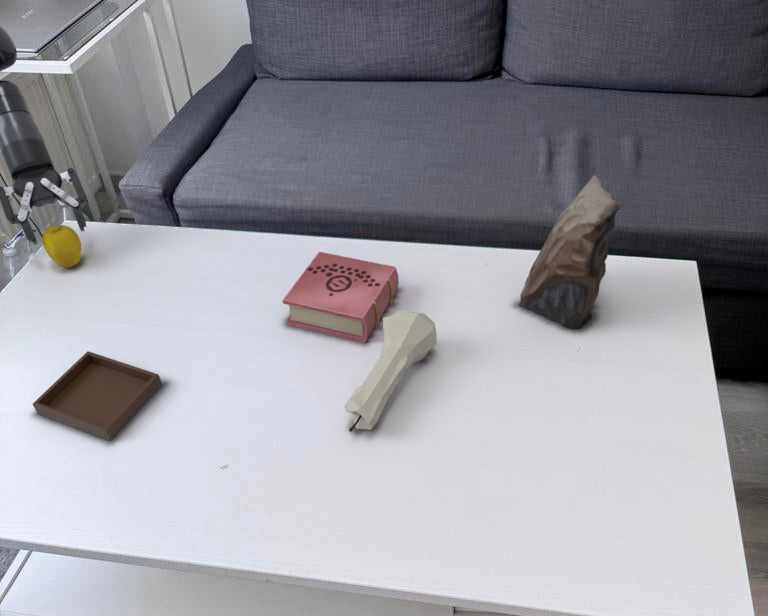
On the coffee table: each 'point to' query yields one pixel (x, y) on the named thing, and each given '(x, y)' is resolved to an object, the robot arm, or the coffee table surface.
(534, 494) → the coffee table surface
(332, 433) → the coffee table surface
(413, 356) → the faceted club
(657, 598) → the coffee table surface
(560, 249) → the brown rock
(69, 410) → the tray
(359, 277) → the book
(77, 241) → the apple
